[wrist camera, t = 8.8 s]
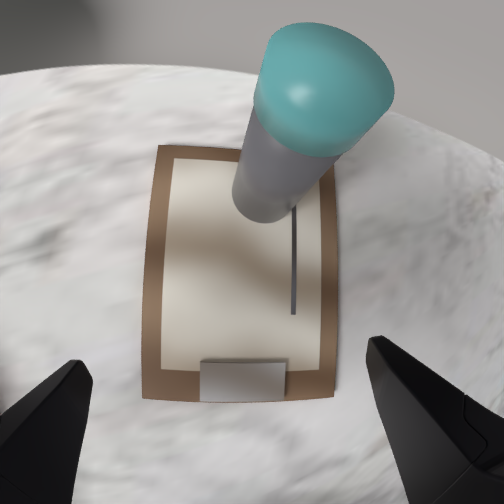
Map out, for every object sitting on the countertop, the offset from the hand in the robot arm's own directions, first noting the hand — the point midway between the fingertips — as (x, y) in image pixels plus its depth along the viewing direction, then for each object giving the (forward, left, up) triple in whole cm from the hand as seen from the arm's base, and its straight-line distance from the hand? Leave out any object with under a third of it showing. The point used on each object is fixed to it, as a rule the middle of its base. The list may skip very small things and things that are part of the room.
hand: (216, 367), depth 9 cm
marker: (+9, -3, -9) cm, 13 cm away
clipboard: (+4, -2, -10) cm, 11 cm away
